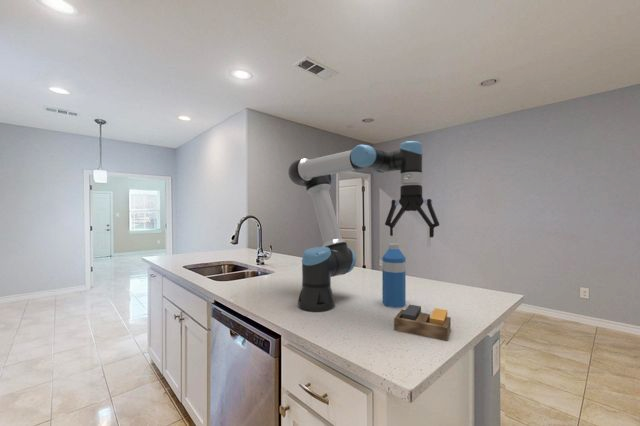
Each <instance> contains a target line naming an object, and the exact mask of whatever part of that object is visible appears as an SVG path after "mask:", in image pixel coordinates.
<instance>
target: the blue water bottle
mask: <svg viewBox="0 0 640 426" xmlns="http://www.w3.org/2000/svg"><path fill="white" fill-rule="evenodd" d="M381 259H382V261H381V263H382V270H381V272H382V291H381V292H382V295H381V296H382V304H383V305H384V306H386V307H390V308H403V307H405V306H406V296H407V295H406V294H407V293H406V290H407V289H406V256H405V255H404V253H403V252H402V251H401V250H400V244H399V243H397V245H393V243H388V249H387V250H386V252H385V253H384V254H383V256H382V258H381Z"/></svg>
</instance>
